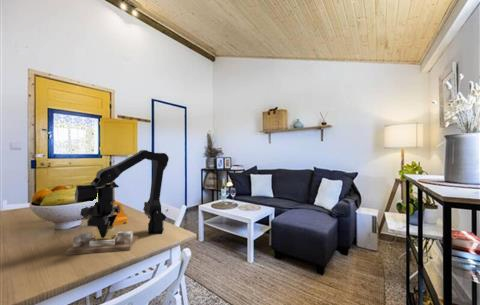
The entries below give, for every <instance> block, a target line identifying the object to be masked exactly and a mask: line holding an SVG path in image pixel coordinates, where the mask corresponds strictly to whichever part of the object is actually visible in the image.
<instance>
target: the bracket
mask: <svg viewBox="0 0 480 305" xmlns="http://www.w3.org/2000/svg"><path fill="white" fill-rule="evenodd" d="M113 206H119V207H120V213H119V214H117V212H113V213H114V215H118V216H117V217H116V219H115V221H114V224H113V226H115V227H116V226H121V225H124V223H128V222H129V218H128V216H126V214H125V211H124V209H123V206H122V204H121V202H119V201H118V200H115V202H114V203H113Z"/></svg>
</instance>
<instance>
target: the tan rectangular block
mask: <svg viewBox="0 0 480 305" xmlns="http://www.w3.org/2000/svg"><path fill="white" fill-rule="evenodd" d="M115 228H116V226H109V227H108V230H107V232H106V235H105V237H104V238H101V235H100V233H99V230H98V228H97V227H96V229H95V231H94V232H95V236H94V237H95V241H98V240H113V239H114V238H115V234H116V229H115Z"/></svg>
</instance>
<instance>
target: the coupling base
mask: <svg viewBox="0 0 480 305" xmlns="http://www.w3.org/2000/svg"><path fill="white" fill-rule="evenodd" d="M138 238H139V235H138V234H136V235H135V234H134V231H133V230H132V231H131V230H129V231H128V230H120V231H118V232H117V233H115V238H114V239H113V240H98V241H95V236H94V237H93V232H87V233H79V234H76V235H75V236H73V237H72V242H73V243H72V246H71V247H70V248H68V249H67V250H66V255H80V254H81V255H82V254H93V253H95V254H96V253H107V252H110V253H111V252H121V251H131V250H132V248H133V246H134V245H135V244H136V242H137V241H138Z"/></svg>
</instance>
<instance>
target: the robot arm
mask: <svg viewBox="0 0 480 305" xmlns="http://www.w3.org/2000/svg"><path fill="white" fill-rule="evenodd" d="M144 160H147V161H151V165H152V169H153V172H152V178H151V179H152V180H151V184H150V185H151V186H150V193H149V199H148V200H147V201H144V203H143V204H144V206H143V208H142V210H143V213H144V215H145V216H147V217H148V219H149V221H148V224H147V228H148V229H147V231H148V235H155V234H156V235H157V234H158V235H159V234H160V235H161V234H163V232H164V231H165V230H164V229H165V228H164V221H166V218H167V215H165V214H164V212H162V203H161V200H160V199H161V191H162V183H163V177H164V171H165V170H166V168H167V167H168V163H169V161H170V160H169V155H168V154H167V153H166V152H153V151H150V150H147V149H141V150H139V151H138V152H136V153H135V154H132V155H130V156H129V157H127V158H125V159H123V160H121V161H120V162H118V163H116V164H114V165H111V166H107V167H103V168H102V169H99V170H98V171H97V172H96V174H95V178H94V179H93V180H92V181H91V183H90V184H77V185H76V186H75V187H76V188H75V190H74V191H75V192H74V200H75V201H74V202H75V203H76V204H77V203H78V204H79V203H85V202H90V201H93V200H94V199H96V197H97V190H98V202H96V203H95V205H94V206H89V207H88V206H86V207H82V208H81V211H80V214H79V215H80V216H81V217H83V218H84V219H86V218H87V217H90V218H89V219H88V220H87V225H86V226H87V227H96V229H97V228H98V230H99V233H100V235H101V238H104V237H105V235H106V232H107V230H108V227H109V226H113V224H114V221H115V219H116V217H117V216H118V215H114V213H113V212H117V214H119V213H120V207H119V206H117V205H114V206H113V203H114V202H115V201H116V199H114V189H115V188H116V189H117V188H119V187H120V186H119V185H118V184H116V181H115V180H116V179H117V178H119V177H120V175H122V173H123V172H125V171H126V170H128V169H130V168H133V166H135V165H137V164H139V163H141V162H142V161H144ZM93 214H94V215H99V216H93V217H92V218H91V215H93Z"/></svg>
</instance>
